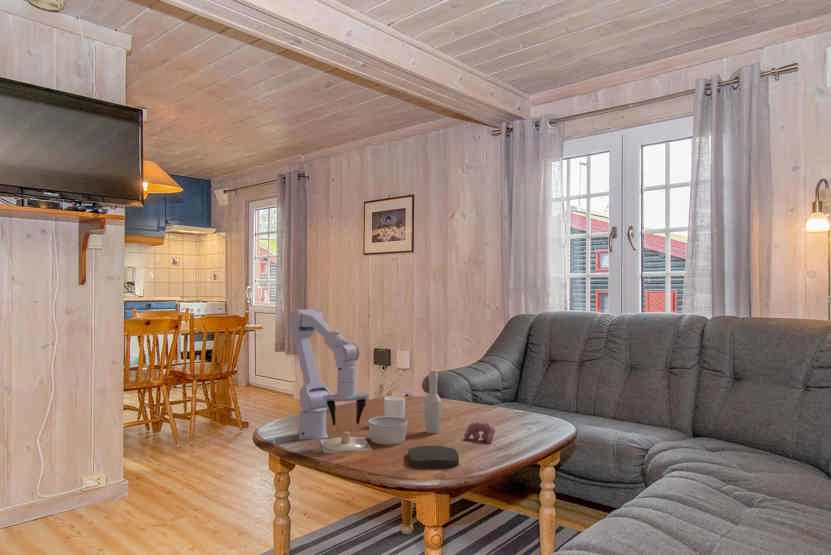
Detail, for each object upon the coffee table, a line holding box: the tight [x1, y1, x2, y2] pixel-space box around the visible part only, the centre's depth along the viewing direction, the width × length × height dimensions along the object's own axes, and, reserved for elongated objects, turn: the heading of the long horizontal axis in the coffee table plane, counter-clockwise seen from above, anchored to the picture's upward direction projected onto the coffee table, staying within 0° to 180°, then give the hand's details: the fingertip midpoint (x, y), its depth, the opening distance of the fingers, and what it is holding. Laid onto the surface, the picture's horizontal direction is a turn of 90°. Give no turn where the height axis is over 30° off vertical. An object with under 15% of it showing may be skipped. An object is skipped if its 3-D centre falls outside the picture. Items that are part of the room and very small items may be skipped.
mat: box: [319, 436, 373, 454], centre depth 183 cm, size 15×15×1 cm
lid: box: [324, 431, 368, 452], centre depth 182 cm, size 14×14×4 cm
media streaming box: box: [407, 445, 460, 469], centre depth 169 cm, size 15×15×3 cm
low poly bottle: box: [423, 369, 443, 434], centre depth 201 cm, size 6×6×22 cm
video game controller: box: [463, 421, 496, 445], centre depth 191 cm, size 10×5×7 cm, turn 60°
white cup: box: [383, 395, 406, 418], centre depth 211 cm, size 8×8×10 cm
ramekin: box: [367, 415, 409, 446], centre depth 189 cm, size 13×13×7 cm
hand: (345, 423), depth 182 cm, fingers open, 7 cm apart
